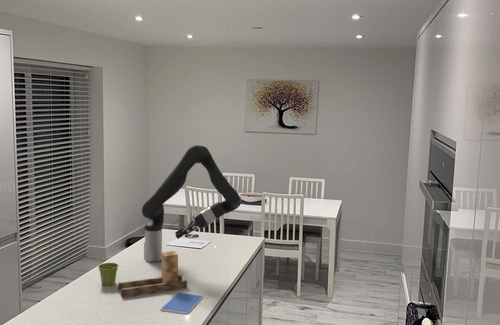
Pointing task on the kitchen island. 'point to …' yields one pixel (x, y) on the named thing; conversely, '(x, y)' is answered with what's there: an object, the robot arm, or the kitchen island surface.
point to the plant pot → (108, 273)
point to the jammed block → (169, 267)
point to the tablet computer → (181, 303)
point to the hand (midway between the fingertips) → (176, 235)
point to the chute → (149, 286)
